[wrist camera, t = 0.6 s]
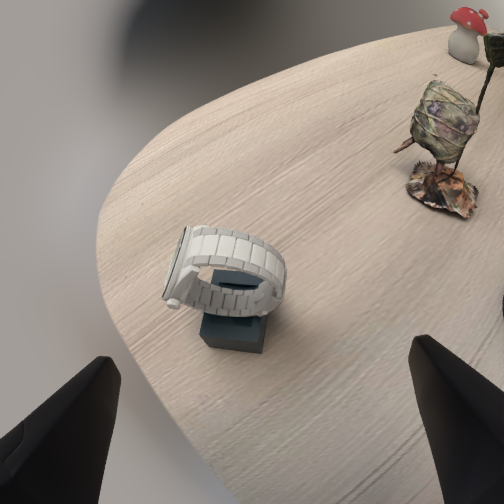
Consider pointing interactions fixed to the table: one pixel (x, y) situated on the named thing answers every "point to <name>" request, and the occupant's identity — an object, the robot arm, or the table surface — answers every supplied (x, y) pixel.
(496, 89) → the table surface
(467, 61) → the decorative ornament
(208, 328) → the watch
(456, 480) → the robot arm
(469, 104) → the plant with pod
